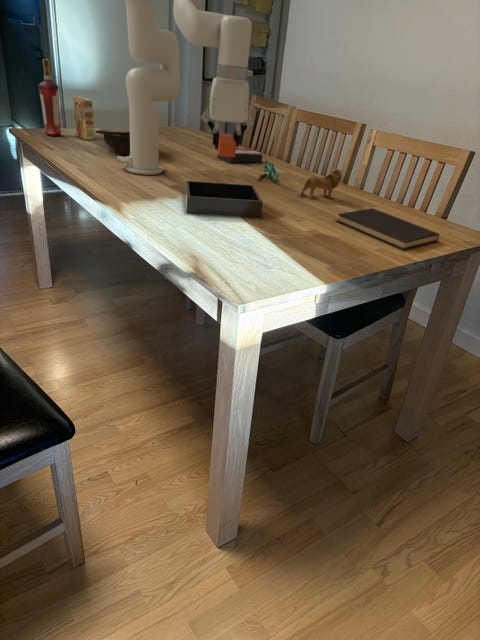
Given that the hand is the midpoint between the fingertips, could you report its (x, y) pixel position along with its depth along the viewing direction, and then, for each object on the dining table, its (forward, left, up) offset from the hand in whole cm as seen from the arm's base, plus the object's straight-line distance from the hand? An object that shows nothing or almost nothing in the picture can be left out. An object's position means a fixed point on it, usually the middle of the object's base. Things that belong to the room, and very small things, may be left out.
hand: (225, 147), depth 129 cm
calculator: (+14, +65, -17) cm, 68 cm away
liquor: (-63, +85, -17) cm, 107 cm away
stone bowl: (-31, +66, -17) cm, 75 cm away
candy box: (-50, +85, -17) cm, 100 cm away
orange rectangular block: (0, 0, -1) cm, 1 cm away
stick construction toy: (+20, +36, -17) cm, 44 cm away
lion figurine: (+35, +18, -17) cm, 42 cm away
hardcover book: (+46, -13, -17) cm, 50 cm away
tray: (0, 0, -16) cm, 16 cm away
